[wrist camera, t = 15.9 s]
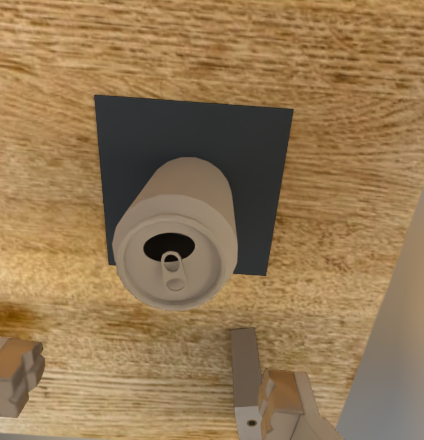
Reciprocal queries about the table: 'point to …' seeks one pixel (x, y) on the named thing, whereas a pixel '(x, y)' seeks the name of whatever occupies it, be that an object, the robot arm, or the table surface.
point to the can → (178, 237)
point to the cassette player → (246, 383)
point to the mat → (200, 148)
